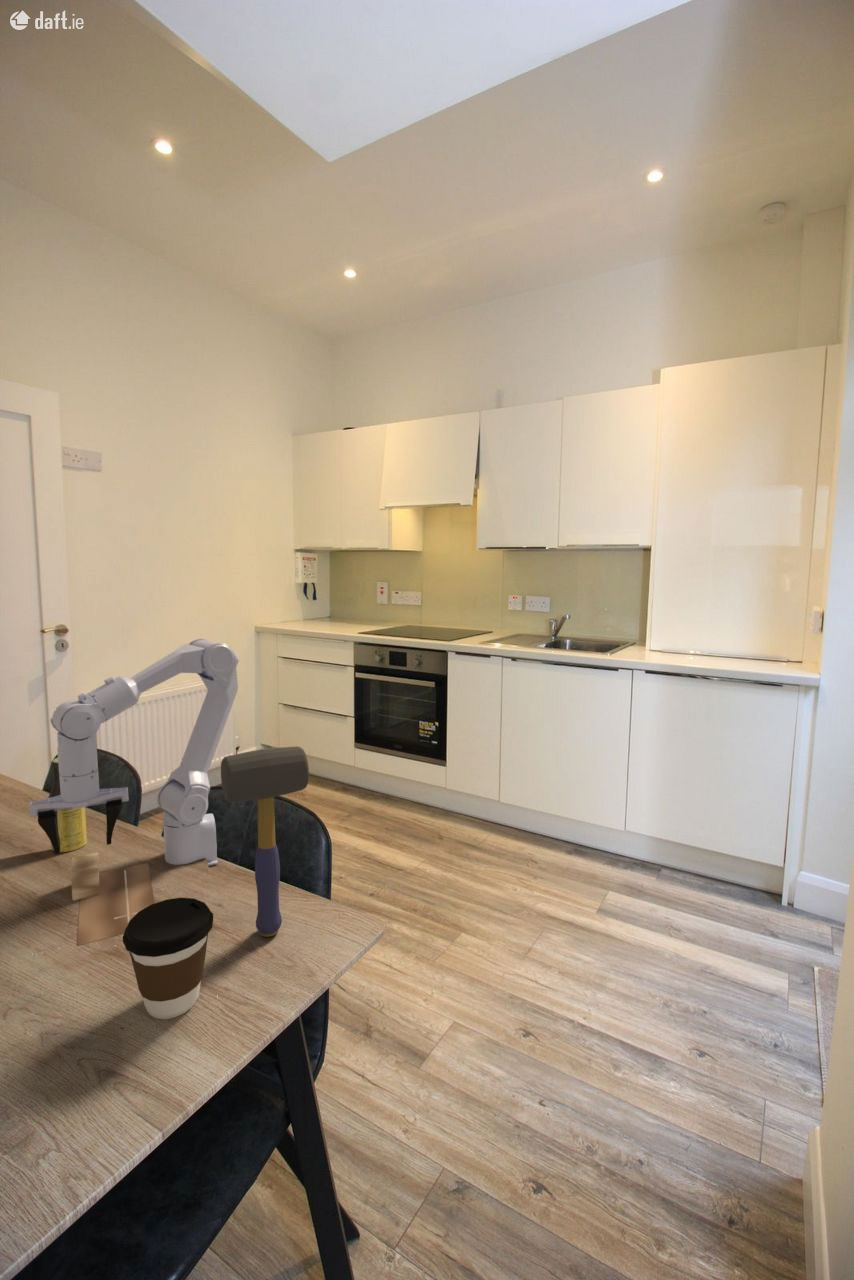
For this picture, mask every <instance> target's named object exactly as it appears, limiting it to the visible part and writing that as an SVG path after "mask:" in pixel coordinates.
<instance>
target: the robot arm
mask: <svg viewBox="0 0 854 1280" xmlns="http://www.w3.org/2000/svg"><path fill="white" fill-rule="evenodd" d="M239 662H240V660H239V658H238V656H237V655H236V653H235V652H234V650H233V648H232V647H231V646H230V645H228V644H227V643H224V642H215V641H210V640H208V639H204V638H197V639H196V638H195V639H194V640H192V641H190V642H189V643H186V644H183V645H180V646H179V647H178V648H176V649H175V650H174V651H172V652H171V653H168V654H167V655H166V656H163V658H161V659H159V660H157V661H155V662H154V663H152V664H151V665H149V666H147V667H146V668H144V669H143V670H141V671H139V672H137V673H136V674H134V675H133V676H131V677H129V678H128V677H124V676H117V677H115V678H114V677H113V676H112V677H111V676H110V677H107V678H106V679H104V684H102V685H101V686H99V687H97V688H95V689H93V690H91V691H90V692H87V693H86V694H85V693H80V694H78V695H77V698H78V699H77V700H67V701H64V702H62V703H60V704H59V705H58V706H57V707H56V708H55V709H56V710H54V711H53V712H52V713H53V714H52V717H51V718H50V720H49V721H50V723H51V726H52V728H54V730H56V731H57V733H56V734H57V739H56V740H57V747H56V748H57V758H58V765H59V778H60V792H61V795H59V796H55V797H51V798H44V799H43V798H42V799H38V800H33V801H30V802H29V805H28V806H29V807H28V809H29V817H30V818H33V817H37V823H38V825H39V826H40V828H42V830H43V832H45V834H46V836H47V837H48V839H49V841H50V844H51V843H52V846H53V849H54V851H53V853H54V855H55V856H56V855H60V839H59V832H58V818H57V811H61V810H67V809H77V808H83V807H85V808H87V807H91V806H98V805H103V804H105V818H106V837H105V839H106V845H107V846H108V845H111V844H112V839H113V832H114V828H115V826H116V822H117V820H118V818H119V815H120V813H121V811H122V808H123V802H129V788H128V787H127V786H126V787H113V788H100V779H99V777H100V776H99V765H98V764H99V763H98V748H97V745H98V744H97V741H96V738H97V737H96V733H97V732H98V731H99V729H100V727H101V725H102V724H104V723H106V722H107V721H109V720H111V719H113V718H114V717H116V716H118V715H119V714H122V713H123V712H125V711H126V710H128V709H130V708H132V707H133V706H135V705H137V704H138V702H139V699H140V696H141V694H143V693H144V692H146V691H148V690H150V689H153V688H155V687H156V686H158V685H159V684H162V683H164V682H166V681H168V680H171V678H174V677H177V675H180V674H185V673H186V674H197V675H198V676H199V677H200V679H201V681H202V682H203V684H204V685H205V688H206V689H207V692H206V695H205V697H204V700H203V702H202V705H201V707H200V710H199V713H198V717H197V718H196V720H195V723H194V724H195V725H194V726H193V729H192V732H191V735H190V737H189V740H188V743H187V746H186V748H185V751H184V754H183V757H182V759H181V761H180V764H179V766H178V767H177V768H176V769H174V770H173V771H172V772H171V773H170V775H169V777H168V779H167V781H166V782H165V783H164V784H163V785H162V786H161V787H160V789H159V791H158V792H157V798H156V799H157V805H158V806H159V808H160V809H161V810H163V813H164V814H163V818H162V824H163V825H162V826H163V842H164V843H163V845H164V846H163V847H164V849H163V850H164V861H165V862H166V863H168V864H169V865H179V866H181V865H187V864H190V863H193V862H197V861H200V860H203V859H205V860H206V864H207V865H208V867H209V866H215V865H217V864H218V863H219V861H218V854H217V853H218V851H217V849H218V848H217V847H218V846H217V828H216V820H215V816H214V814H213V813H207V812H208V810H209V799H208V798H209V793H210V790H211V785H210V780H209V777H208V773H209V770H210V768H211V764H212V762H213V760H214V757H215V753H216V751H217V748H218V745H219V742H220V740H221V737H222V735H223V731H224V729H225V726H226V724H227V721H228V718H229V715H230V712H231V709H232V707H233V704H234V701H235V699H236V696H237V693H238V691H239V680H238V672H237V671H238V670H237V667H238V665H239Z"/></svg>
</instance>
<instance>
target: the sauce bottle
mask: <svg viewBox="0 0 854 1280" xmlns="http://www.w3.org/2000/svg"><path fill="white" fill-rule="evenodd" d="M51 768H52V770H53V771H52V772H53V779H52V781H53V782H52V785H51V790H50V792H49V795H48V798H51V797H55V796H59V795H61V792H60V778H59V765H58V757H56V758H54V759H51ZM86 813H87V812H86V807H83V808H77V809H67V810H61V811H57V818H58V832H59V839H60V853H71V852H75V851H77V850H80V849H81V848H83V847H84V846H85V845H86V844H87V843H88V833H87V832H88V831H87V830H88V829H87V815H86ZM50 847H51V850H52V851H53V852H54V849H53V846H52V843H51V842H50Z"/></svg>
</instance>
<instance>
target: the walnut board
mask: <svg viewBox="0 0 854 1280" xmlns="http://www.w3.org/2000/svg"><path fill="white" fill-rule="evenodd" d="M99 873H100V895H96V896H91V897H87V898H82V899H79V910H78V912H79V913H78V923H77V924H78V925H77V926H78V927H77V940H76V946H77V947H79V946H81V945H82V946H83V945H87V944H89V943H94V942H97V941H101V940H104V939H108V938H113V937H115V936H119V935H121V936H122V935H124V932H125V929H126V927H127V926H128V923H129V921H130V920H131V919H132V918H133V917H134V916H135V915H136V914H137V913H138V912H139V911H141V910H143V909H144V908H146V907H148V906H150V905H152V904H155V903H156V902H155V897H154V891H153V884H152V878H151V877H152V876H151V871H150V865H149V862H145V863H142V864H137V865H133V866H128V867H123V868H118V869H114V870H109V871H104V872H99Z"/></svg>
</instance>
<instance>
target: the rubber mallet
mask: <svg viewBox="0 0 854 1280" xmlns="http://www.w3.org/2000/svg"><path fill="white" fill-rule="evenodd" d="M309 769H310V768H309V762H308V757H307V754H306V752H305V750H304V749H303V748H302V747H301V746H286V747H285V746H284V747H272V748H263V749H256V750H251V751H246V752H240V753H236V754H231V755H226V756H225V757H224V758H222V760H221V763H220V781H221V782H220V783H221V789H222V794H223V797H224V800H225V801H226V802H227V803H231V804H232V803H241V802H249V801H257V838H258V840H257V842H258V843H257V844H258V845H257V848H256V850H255V851H256V853H255V861H254V877H255V884H256V885H255V886H256V892H257V895H256V896H257V915H256V918H255V927H256V929H257V931H258V933H259V935H260V936H262V937H266V938H269V937H272V936H275V935H277V934H278V932H279V930H280V928H281V926H282V923H283V921H282V920H283V917H282V914H281V911H280V895H279V894H280V892H279V891H280V890H279V888H280V878H281V867H280V866H281V864H280V863H281V862H280V855H279V848H278V846H277V844H276V825H275V822H276V821H275V819H276V818H275V797H279V796H284V795H288V794H292V793H296V792H299V791H303V790H305V789H306V787H308V784H309V778H310V770H309Z"/></svg>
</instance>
